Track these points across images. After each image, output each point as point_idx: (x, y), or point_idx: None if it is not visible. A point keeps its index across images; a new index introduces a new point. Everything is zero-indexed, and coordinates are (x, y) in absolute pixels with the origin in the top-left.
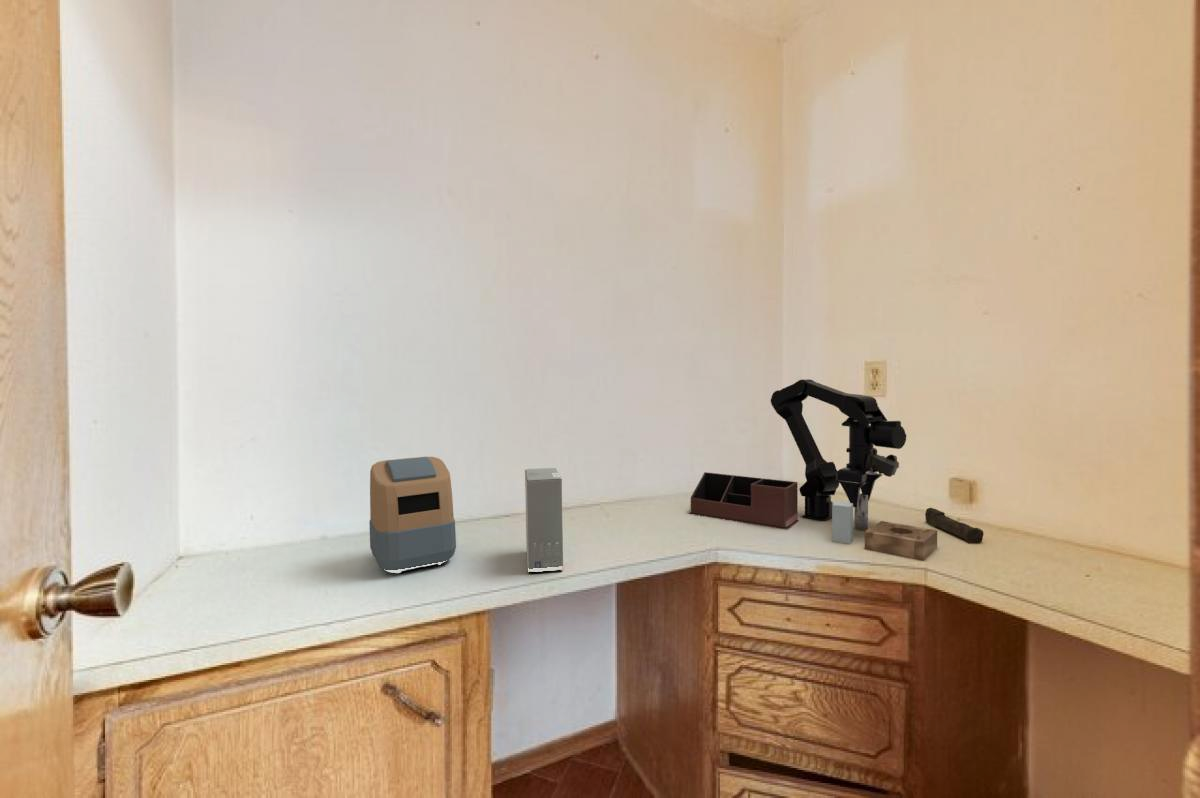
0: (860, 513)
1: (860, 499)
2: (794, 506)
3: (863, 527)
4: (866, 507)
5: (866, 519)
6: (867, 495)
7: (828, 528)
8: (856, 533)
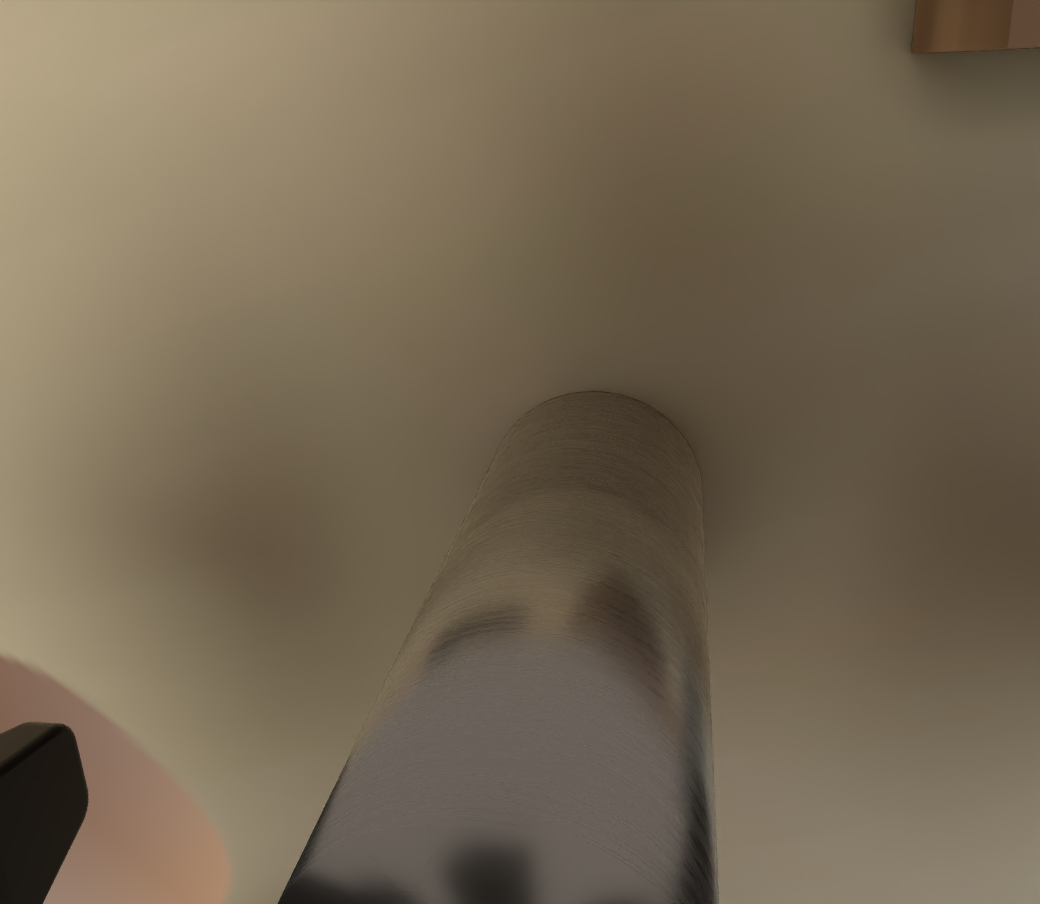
0: (702, 631)
1: (717, 893)
2: None
3: (678, 453)
4: (601, 606)
5: (624, 473)
6: (446, 839)
7: (904, 857)
8: (939, 469)
